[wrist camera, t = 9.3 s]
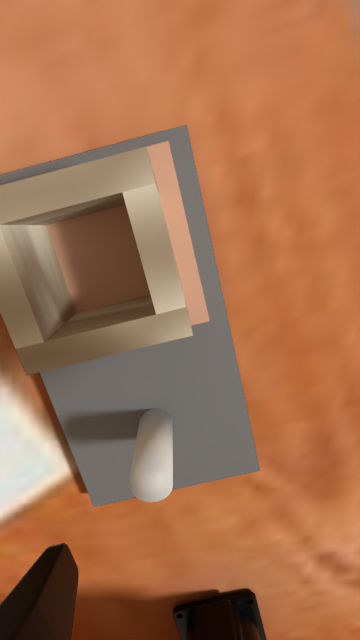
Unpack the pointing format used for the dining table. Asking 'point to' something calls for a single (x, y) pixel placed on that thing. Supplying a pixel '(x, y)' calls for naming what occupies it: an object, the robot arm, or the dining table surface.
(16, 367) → the dining table surface
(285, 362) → the dining table surface
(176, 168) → the stand board
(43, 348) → the beige square hollow block
